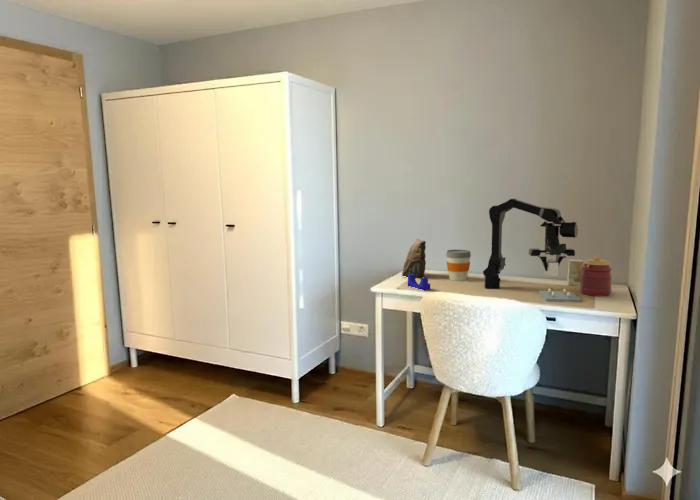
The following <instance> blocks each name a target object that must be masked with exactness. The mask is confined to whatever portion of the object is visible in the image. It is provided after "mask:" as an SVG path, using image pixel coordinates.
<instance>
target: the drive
mask: <svg viewBox="0 0 700 500" xmlns="http://www.w3.org/2000/svg"><path fill="white" fill-rule="evenodd" d="M546 262H547V271H545V268H544V267H543V273H544V274H545V275H546V276H547V277H559V267H558V262H556V259H555V260H554V259H546Z"/></svg>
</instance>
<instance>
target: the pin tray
mask: <svg viewBox="0 0 700 500" xmlns="http://www.w3.org/2000/svg"><path fill="white" fill-rule="evenodd" d="M538 294H539V295H540V296H541V298H543V299H544V300H545V301H546V302H564V301H572V302H573V303H575V302H576V303H581V302H582V299H581V298H580V297H578V295H576V294H575V293H574V292H573V291H570V290H569V291H567V288H563V291H562V290H552V288H548V290H538Z"/></svg>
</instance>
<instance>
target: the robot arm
mask: <svg viewBox="0 0 700 500" xmlns="http://www.w3.org/2000/svg"><path fill="white" fill-rule="evenodd" d="M512 209H517V210H520V211H524V212H526V213H529V214H532V215H536V216H538V217H539V218H541V219H543V220H544V221H543V222H542V224H540V227H545V229H544V230H545V231H544V249H540V248H538V247H537V248H535V247H534V248H529V249H528V255H529V256H530V257H538V258H539V259H540V261H541V263H542V266H543V269H544V268H545V271H547V262H546V260H547V259H548V258H547V256H546V255H550V256H555V261H556V262H558V268H560V265H561V262H562V261H563V259H566V258H567V257H576V251H575V249H573V248H572V247H567V244H566V243H560V236H561V237H562V238H578V233H579V230H578V224H577V221H569V222H567V221H565V219H564V218H563V217H562V215H561V214H562V213H561V211H560V210H559V208H555V207H546V206H539V205H536V204H533V203H530V202H526V201H523V200H520V199H517V198H509V200H506V201H505V202H502V203H500V204H497V205H492V206H491V207H490V208H489V209H488V215H489V216H488V217H489V219H490V223H491V255H490V257H489V258H488V264H487V267H486V268H485V269H484V270H483V271H482V273H483V276H484V284H483V286H484V289H500V287H501V278H500V274H501V271H503V270H504V268H505V266H506V256H504V257H503V254H502V244H503V243H502V240H503V239H502V237H503V235H502V234H503V233H502V231H503V223H504V220H505V217H506V213H507V212H509V211H511V210H512Z"/></svg>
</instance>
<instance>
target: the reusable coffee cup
mask: <svg viewBox="0 0 700 500" xmlns="http://www.w3.org/2000/svg"><path fill="white" fill-rule="evenodd" d="M445 256H446V267H447V269H446V270H447V272H448V278H449V280H450V281H455V282H463V281H467V280H468V273H469V271H470V267H471V266H470V265H471V261H470V260H471V256H472V255H471V251H470V250H467V249H448V250H446V254H445Z"/></svg>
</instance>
